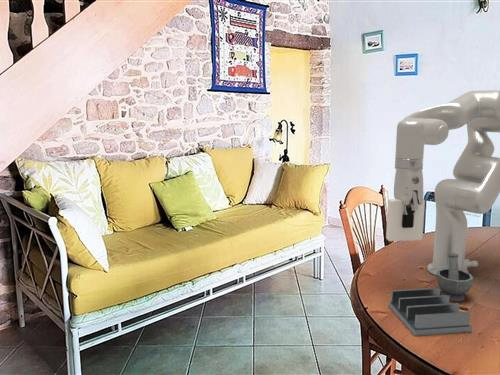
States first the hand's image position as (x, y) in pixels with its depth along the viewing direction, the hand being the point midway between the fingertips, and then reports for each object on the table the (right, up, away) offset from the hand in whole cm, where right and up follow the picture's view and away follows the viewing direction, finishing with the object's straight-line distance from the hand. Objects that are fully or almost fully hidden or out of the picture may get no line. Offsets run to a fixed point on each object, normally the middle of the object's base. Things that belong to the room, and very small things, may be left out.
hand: (405, 225), depth 130 cm
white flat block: (0, -4, +1) cm, 4 cm away
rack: (+2, -24, -11) cm, 27 cm away
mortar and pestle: (+15, -21, +2) cm, 26 cm away
